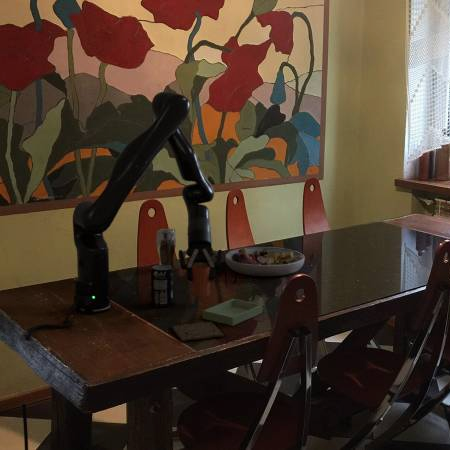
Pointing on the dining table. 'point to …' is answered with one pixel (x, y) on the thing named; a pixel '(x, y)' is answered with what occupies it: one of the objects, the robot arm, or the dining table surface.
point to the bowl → (264, 261)
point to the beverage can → (161, 285)
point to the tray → (232, 312)
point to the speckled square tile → (197, 331)
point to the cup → (200, 280)
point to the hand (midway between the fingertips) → (201, 279)
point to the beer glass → (166, 247)
